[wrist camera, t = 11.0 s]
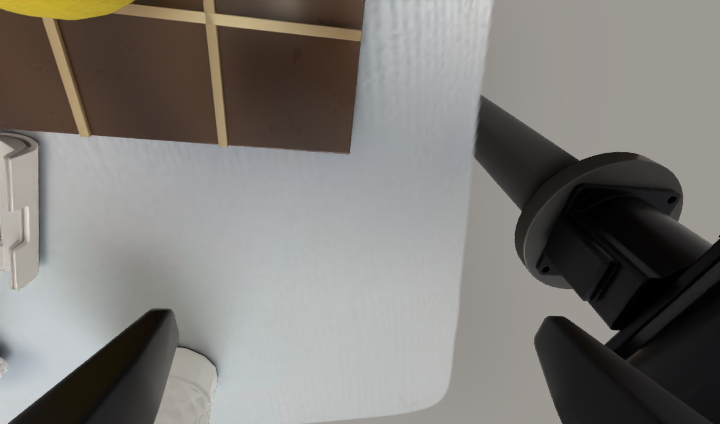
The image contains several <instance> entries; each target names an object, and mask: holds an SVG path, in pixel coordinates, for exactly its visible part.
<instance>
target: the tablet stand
mask: <svg viewBox="0 0 720 424" xmlns="http://www.w3.org/2000/svg"><path fill="white" fill-rule="evenodd" d="M0 228H1V240H0V272H1V271H4V270H6V271H8V272H9V275H10V289H11V290H14V289H15V290H16V291H18V290H19V289H21V288H22V287H24V286H25V285H26V284H28V283H29V282H30V281H32V280H33V279H34V278H35V277H36V276H37V275H38V273H39V190H38V144H37V142H36V141H34V140H33V139H31V138H29V137H26V136H23V135H19V134H12V133H0Z"/></svg>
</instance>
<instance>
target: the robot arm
mask: <svg viewBox="0 0 720 424" xmlns="http://www.w3.org/2000/svg"><path fill="white" fill-rule="evenodd" d="M583 191H584V192H583ZM581 192H583V193H582V194H580V193H581ZM680 198H681V195H680V193H678V192H676V191H675V190H672V189H662V188H648V187H634V186H619V185H605V184H591V183H580V184H578V185H576V186H575V187H574V188H573V189H572V191H571V193H570V195H569V197H568V199H567V201H566V204H565V206H564V208H563V210H562V212H561V214H560V216H559V218H558V220H557V222H556V224H555V226H554V228H553V230H552V232H551V234H550V237H549V239H548V241H547V243H546V245H545V247H544V249H543V251H542V253H541V255H540V257H539V259H538V261H537V263H536V266H535V268H536V270H537V272H538V273H539V274H540V275H549V276H563V277H564V279H565V280H566V281H567V282H568V283H569V285H570V286H571V287H572V288H573V289H574V291H575V292H576V293H577V294H578V296H579V297H580V298H581V299H582V300H583V301H588V302H589V304H590V305H591V306H592V307H593V308H594V310H595V311H596V312H597V313H598V314H599V316H600V317H601V318H602V319H603V320H604V322H605V323H606V324H607V325H608V326H609V328H610V329H611V330H620V331H619V332H618V333H617V334H616V335H615V336H613V337H612V338H611V339H610V340H609V341H608V342H607V343H606V344H605V345H603V344H602V343H600V342H599V341H598V340H596V339H595V338H593V337H592V336H591V335H589V334H588V333H587V332H585V331H584V330H582V329H581V328H579V327H578V326H577V325H575V324H574V323H573V322H571V321H570V320H568V319H567V318H565V317H562V316H548V317H546V318H545V319H544V321H543V323H542V325H541V326H540V328H539V330H538V332H537V333H536V335H535V338H534V345H535V349H536V352H537V354H538V357H539V361H540V363H541V367H542V370H543V373H544V376H545V379H546V382H547V385H548V388H549V391H550V394H551V397H552V399H553V402H554V405H555V408H556V410H557V412H558V415H559V417H560V419H561V422H562V424H720V239H719V240H718V241H717V242H716V243H715V244H713V245H712V244H711V243H709V242H708V241H706V240H705V239H703V238H702V237H700V236H699V235H697V234H696V233H694V232H692V231H691V230H689V229H688V228H686V227H685V226H683V225H682V224H680V223H679V222H677V221H676V220H674V219H673V218H671V217H670V216H669V215H670V214H671V212H672V211H673V209H674V208H675V206H676V205H677V203H678V202H679V200H680ZM719 238H720V235H719ZM178 340H179V332H178V328H177V324H176V319H175V315H174V312H173V311H172V310H171V309H164V308H154V309H151V310H149V311H148V312H147V313H145V314H144V315H143V316H142V317H140V318H139V319H138V320H137V321H135V322H134V323H133V324H132V325H130V326H129V327H128V328H127V329H125V330H124V331H123V332H122V333H120V334H119V335H118V336H117V337H115V338H114V339H113V340H112V341H110V342H109V343H108V344H107V345H105V346H104V347H103V348H102V349H100V350H99V351H98V352H97V353H95V354H94V355H93V356H92V357H90V358H89V359H88V360H87V361H85V362H84V363H83V364H82V365H80V366H79V367H78V368H77V369H75V370H74V371H73V372H72V373H70V374H69V375H68V376H67V377H65V378H64V379H63V380H62V381H60V382H59V383H58V384H57V385H55V386H54V387H53V388H52V389H50V390H49V391H48V392H47V393H45V394H44V395H43V396H42V397H40V398H39V399H38V400H37V401H35V402H34V403H33V404H32V405H30V406H29V407H28V408H27V409H25V410H24V411H23V412H22V413H20V414H19V415H18V416H17V417H15V418H14V419H13V420H12V421H10V422H9V423H8V424H154V421H155V419H156V416H157V413H158V410H159V407H160V404H161V401H162V397H163V394H164V390H165V387H166V383H167V380H168V376H169V373H170V369H171V366H172V362H173V359H174V355H175V352H176V348H177V345H178Z"/></svg>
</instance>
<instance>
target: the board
mask: <svg viewBox="0 0 720 424" xmlns="http://www.w3.org/2000/svg"><path fill="white" fill-rule="evenodd" d="M364 5H365V0H135V1H133V2H132V3H130V4H128V5H126V6H124V7H122V8H121V9H119V10H117V11H115V12H113V13H110V14H108V15H102V16H97V17H91V18H85V19H79V20H63V19H53V18H44V17H34V16H27V15H22V14H17V13H14V12H10V11H6V10H4V9H1V8H0V128H2V129H16V130H29V131H43V132H56V133H70V134H80V136H82V137H90V136H92V135H97V136H110V137H123V138H137V139H150V140H164V141H177V142H191V143H204V144H218V145H219V147H228V145H231V146H244V147H258V148H271V149H285V150H298V151H312V152H325V153H339V154H349V153H350V145H351V135H352V125H353V115H354V105H355V95H356V85H357V75H358V65H359V55H360V45H361V40H362V25H363V15H364Z"/></svg>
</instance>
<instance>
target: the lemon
mask: <svg viewBox="0 0 720 424" xmlns="http://www.w3.org/2000/svg"><path fill="white" fill-rule="evenodd" d="M133 1H135V0H0V8H1V9H4V10H6V11H10V12H14V13H17V14H22V15H27V16H34V17H44V18H53V19H63V20H79V19H85V18H91V17H97V16H102V15H108V14H110V13H113V12H115V11H117V10H119V9H121V8H122V7H124V6H126V5H128V4H130V3H132V2H133Z"/></svg>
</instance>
